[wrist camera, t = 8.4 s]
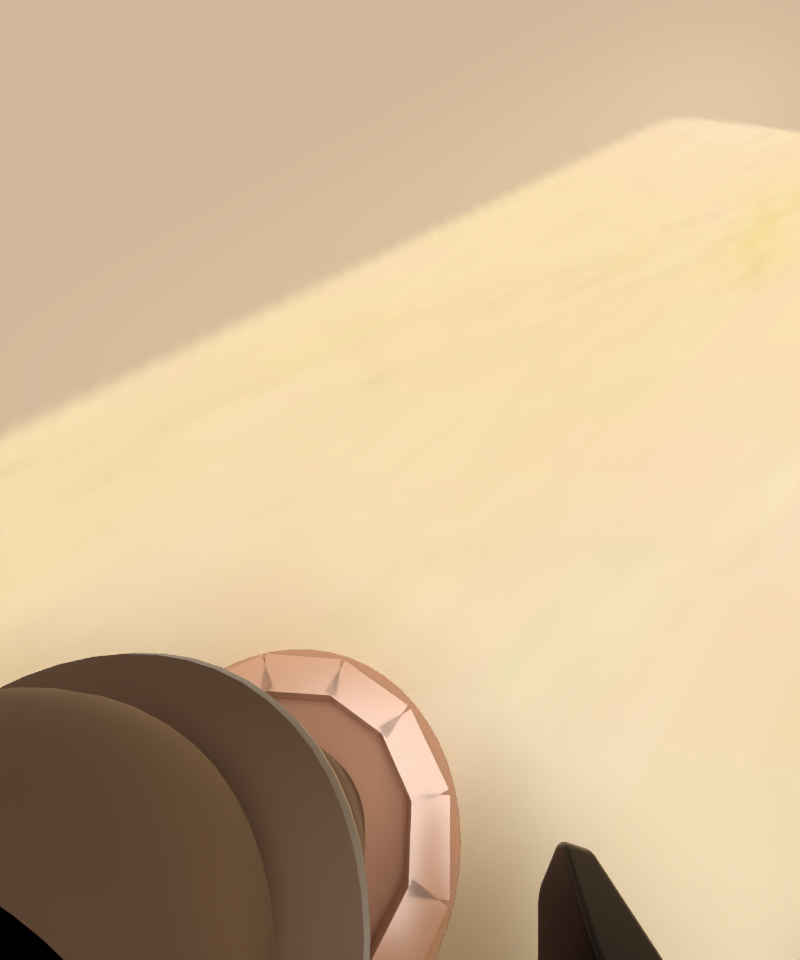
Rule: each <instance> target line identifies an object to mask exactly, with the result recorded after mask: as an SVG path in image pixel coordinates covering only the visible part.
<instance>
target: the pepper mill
mask: <svg viewBox="0 0 800 960" xmlns="http://www.w3.org/2000/svg"><path fill="white" fill-rule="evenodd" d="M0 960H370V915H369V900H368V885H367V875H366V870H365V820H364V813H363V807H362V803H361V800H360V797H359V794H358V792H357V789H356V787H355V785H354V783H353V781H352V780H351V778H350V776H349V775H348V773H347V772H346V771H345V770H344V768H343V767H342V766H341V765H340V764H339V763H338V762H337V761H336V760H335V759H334V758H332V757H331V756H330V755H329V754H328V753H327V752H326V751H324V750H323V749H322V748H321V747H320V746H319V745H318V744H317V743H316V742H315V741H314V739H313V738H312V737H311V736H310V734H309V733H308V732H307V730H306V729H305V728H304V727H303V726H302V725H301V724H300V723H299V722H298V721H297V720H296V719H295V718H294V717H293V716H292V715H291V714H290V713H289V712H288V711H287V710H286V709H285V708H284V707H282V706H281V705H280V704H279V703H278V702H277V701H276V700H275V699H274V698H273V697H271V696H270V695H268V694H267V693H266V692H264V691H263V690H261V689H260V688H258V687H257V686H256V685H254V684H253V683H251V682H250V681H248V680H246V679H244V678H242V677H240V676H238V675H236V674H234V673H232V672H230V671H228V670H226V669H224V668H221V667H218V666H215V665H212V664H209V663H206V662H203V661H200V660H196V659H192V658H186V657H180V656H174V655H168V654H150V653H130V654H118V655H108V656H98V657H91V658H86V659H82V660H77V661H73V662H68V663H64V664H59V665H56V666H54V667H51V668H48V669H45V670H42V671H39V672H36V673H33V674H30V675H27V676H25V677H22V678H20V679H18V680H16V681H14V682H12V683H10V684H7V685H5V686H3V687H1V688H0Z"/></svg>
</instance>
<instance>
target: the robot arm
mask: <svg viewBox="0 0 800 960" xmlns="http://www.w3.org/2000/svg"><path fill="white" fill-rule="evenodd" d="M538 960H663V959H662V958H661V956H660V955H659V953H658V952H657V950H656V948H655V947H654V945H653V944H652V942H651V941H650V939H649V938H648V936H647V935H646V933H645V932H644V930H643V929H642V927H641V925H640V924H639V922H638V921H637V919H636V918H635V916H634V915H633V913H632V912H631V910H630V909H629V907H628V906H627V904H626V903H625V901H624V899H623V898H622V896H621V895H620V893H619V892H618V890H617V889H616V887H615V886H614V884H613V883H612V881H611V880H610V878H609V876H608V875H607V873H606V872H605V870H604V869H603V867H602V866H601V864H600V863H599V861H598V860H597V858H596V857H595V855H594V854H593V853H592V852H591V851H590V850H588V849H586V848H583V847H580V846H577V845H574V844H571V843H567V842H561V843H560V844H559V845H558V846H557V848H556V850H555V852H554V854H553V857H552V859H551V862H550V864H549V867H548V869H547V872H546V874H545V877H544V879H543V881H542V884H541V888H540V892H539V900H538Z"/></svg>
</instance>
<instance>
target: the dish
mask: <svg viewBox="0 0 800 960" xmlns="http://www.w3.org/2000/svg"><path fill="white" fill-rule="evenodd" d="M225 669H226V670H228V671H230V672H232V673H234V674H236V675H238V676H240V677H242V678H244V679H246V680H248V681H250V682H251V683H253V684H254V685H256V686H257V687H258V688H260V689H261V690H263V691H264V692H266V693H267V694H268V695H270V696H271V697H273V698H274V699H275V700H276V701H277V702H278V703H279V704H280V705H281V706H282V707H284V708H285V709H286V710H287V711H288V712H289V713H290V714H291V715H292V716H293V717H294V718H295V719H296V720H297V721H298V722H299V723H300V724H301V725H302V726H303V727H304V728H305V729H306V730H307V732H308V733H309V734H310V736H311V737H312V738H313V739H314V741H315V742H316V743H317V744H318V745H319V746H320V747H321V748H322V749H323V750H324V751H326V752H327V753H328V754H329V755H330V756H331V757H332V758H334V759H335V760H336V761H337V762H338V763H339V764H340V765H341V766H342V767H343V768H344V770H345V771H346V772H347V773H348V775H349V776H350V778H351V780H352V781H353V783H354V785H355V787H356V789H357V792H358V794H359V797H360V800H361V803H362V807H363V813H364V820H365V870H366V875H367V885H368V900H369V915H370V960H434V958H435V956H436V954H437V951H438V949H439V946H440V944H441V941H442V938H443V936H444V933H445V931H446V928H447V925H448V921H449V917H450V914H451V910H452V906H453V903H454V899H455V893H456V887H457V880H458V874H459V863H460V843H461V840H460V823H459V811H458V805H457V799H456V793H455V788H454V784H453V781H452V777H451V774H450V770H449V767H448V764H447V761H446V759H445V756H444V754H443V751H442V749H441V747H440V744H439V742H438V740H437V738H436V737H435V735H434V733H433V731H432V729H431V728H430V726H429V724H428V722H427V721H426V720H425V718H424V717H423V715H422V714H421V713H420V711H419V710H418V709H417V707H416V706H415V704H414V703H413V702H412V701H411V700H410V699H409V698H408V697H407V696H406V695H405V694H404V693H403V692H402V691H401V690H400V689H399V688H398V687H397V686H395V685H394V684H393V683H392V682H391V681H389V680H388V679H387V678H386V677H384V676H383V675H381V674H380V673H378V672H376V671H375V670H373V669H371V668H370V667H368V666H366V665H364V664H362V663H360V662H357V661H355V660H353V659H350V658H348V657H344V656H341V655H337V654H334V653H330V652H323V651H316V650H284V651H276V652H270V653H266V654H262V655H258V656H254V657H250V658H248V659H245V660H243V661H240V662H238V663H235V664H233V665H230V666H228V667H227V668H225Z"/></svg>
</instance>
